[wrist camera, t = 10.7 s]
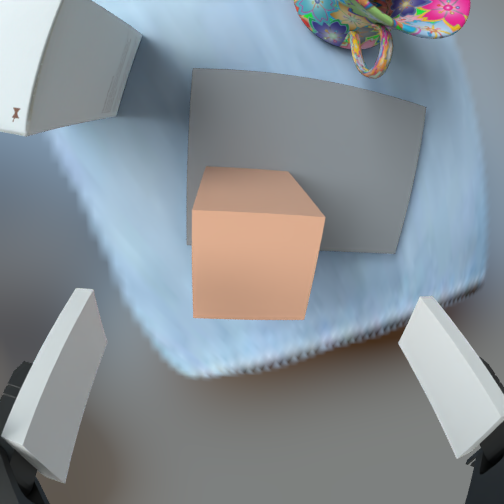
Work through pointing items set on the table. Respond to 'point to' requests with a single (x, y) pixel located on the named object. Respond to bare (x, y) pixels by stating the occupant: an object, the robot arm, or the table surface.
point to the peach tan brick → (253, 245)
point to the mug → (380, 24)
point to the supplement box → (61, 63)
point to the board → (311, 147)
